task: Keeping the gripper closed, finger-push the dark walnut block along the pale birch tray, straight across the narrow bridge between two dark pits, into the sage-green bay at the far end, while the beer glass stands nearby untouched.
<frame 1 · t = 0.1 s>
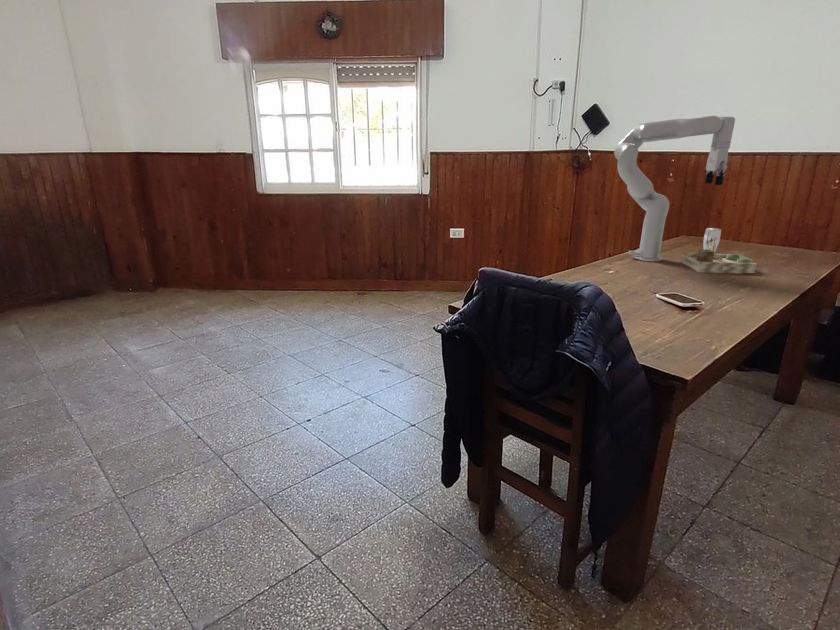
hand: (713, 184, 236), 37 cm above the table, tool pointing down, fingers open, 9 cm apart
walnut block: (704, 261, 233), point 3 cm above the table, touching tray
beer glass: (707, 259, 251), on the table
tray: (716, 267, 234), on the table
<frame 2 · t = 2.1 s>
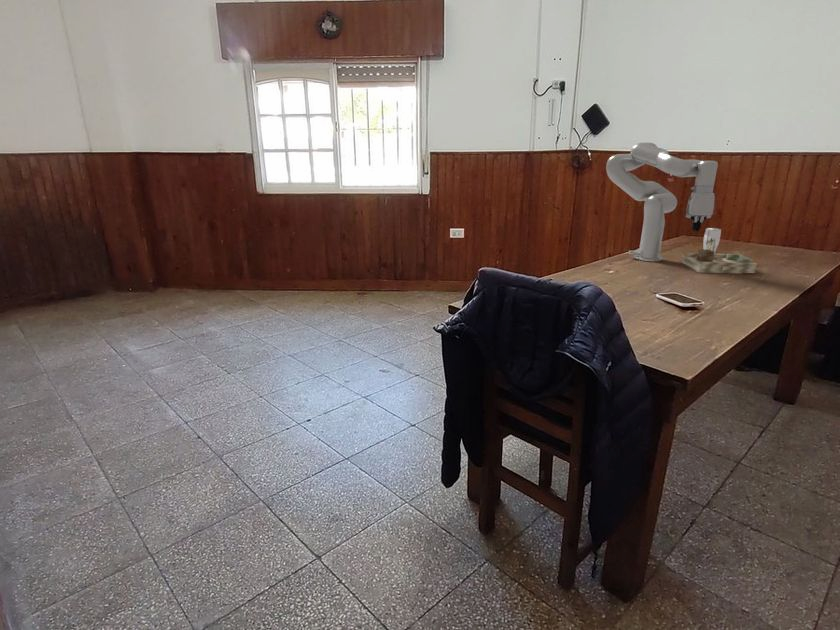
hand: (695, 230, 229), 17 cm above the table, tool pointing down, fingers closed
nothing on the table moved.
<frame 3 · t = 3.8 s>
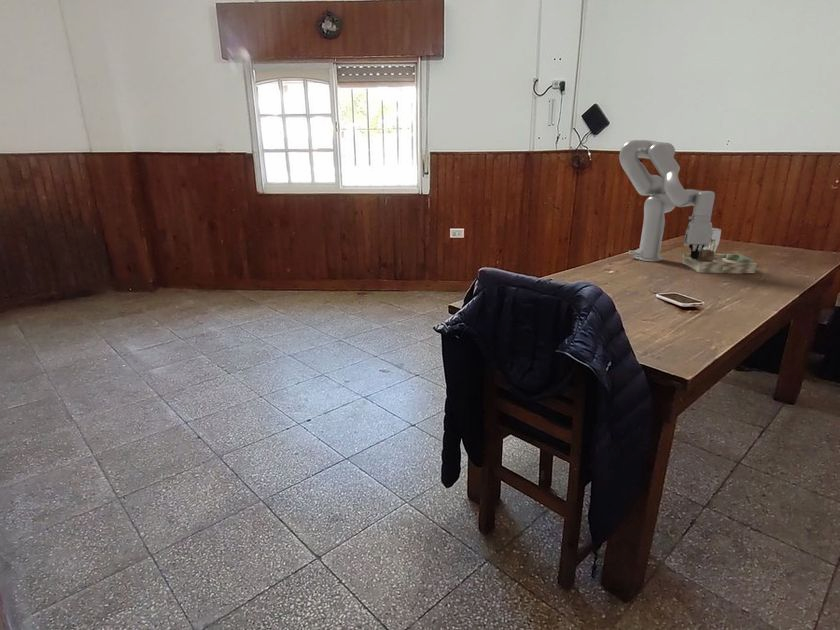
hand: (693, 258, 233), 4 cm above the table, tool pointing down, fingers closed
walnut block: (704, 261, 233), point 3 cm above the table, touching gripper, tray
everything else where it was.
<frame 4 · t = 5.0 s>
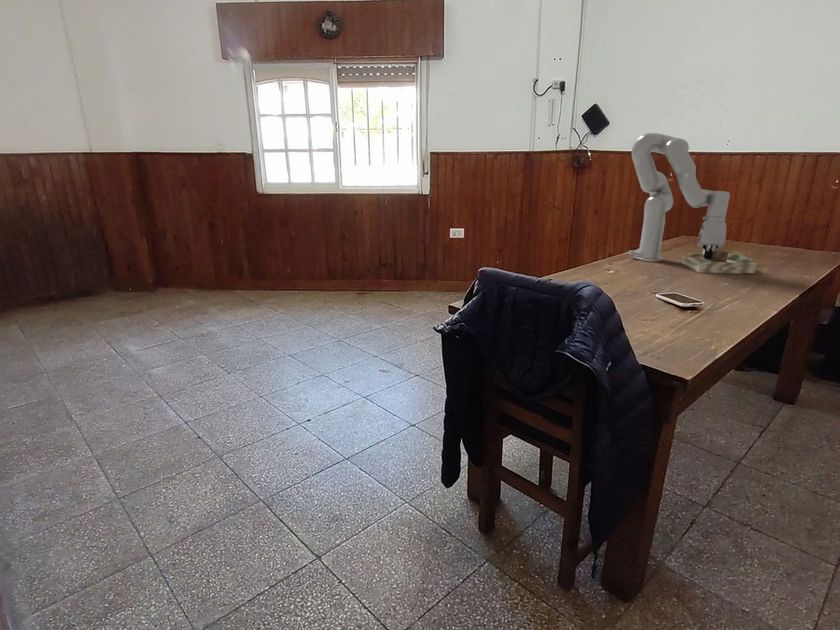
hand: (707, 259, 233), 4 cm above the table, tool pointing down, fingers closed
walnut block: (717, 261, 233), point 3 cm above the table, touching gripper, tray
everything else where it was.
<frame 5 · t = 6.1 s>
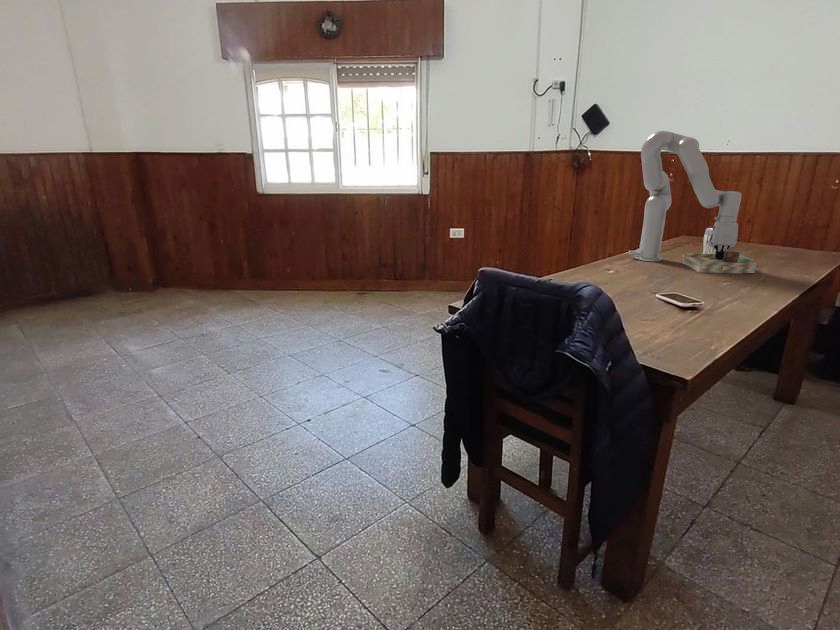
hand: (718, 259, 232), 4 cm above the table, tool pointing down, fingers closed
walnut block: (729, 261, 232), point 3 cm above the table, touching gripper, tray
everything else where it was.
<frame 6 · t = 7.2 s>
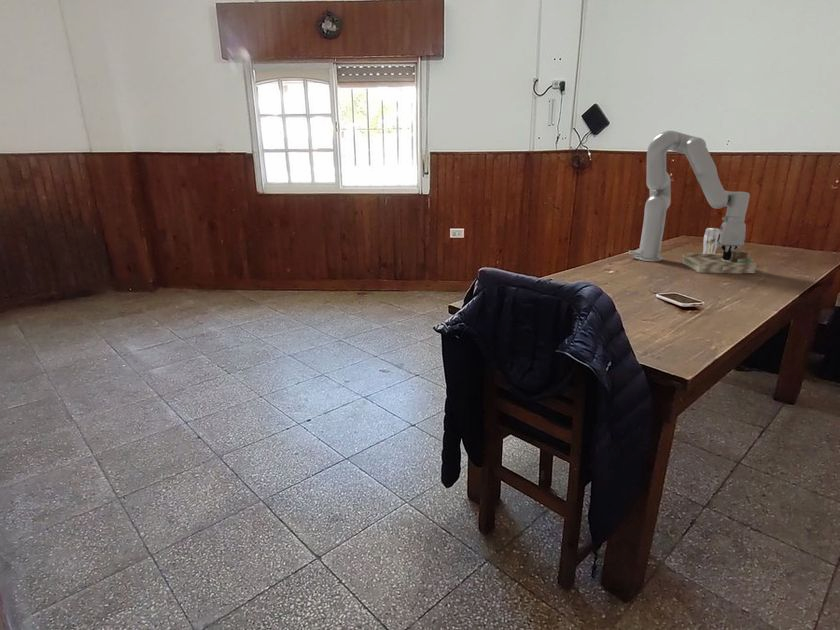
hand: (726, 259, 232), 4 cm above the table, tool pointing down, fingers closed
walnut block: (737, 262, 232), point 3 cm above the table, touching gripper, tray
everything else where it was.
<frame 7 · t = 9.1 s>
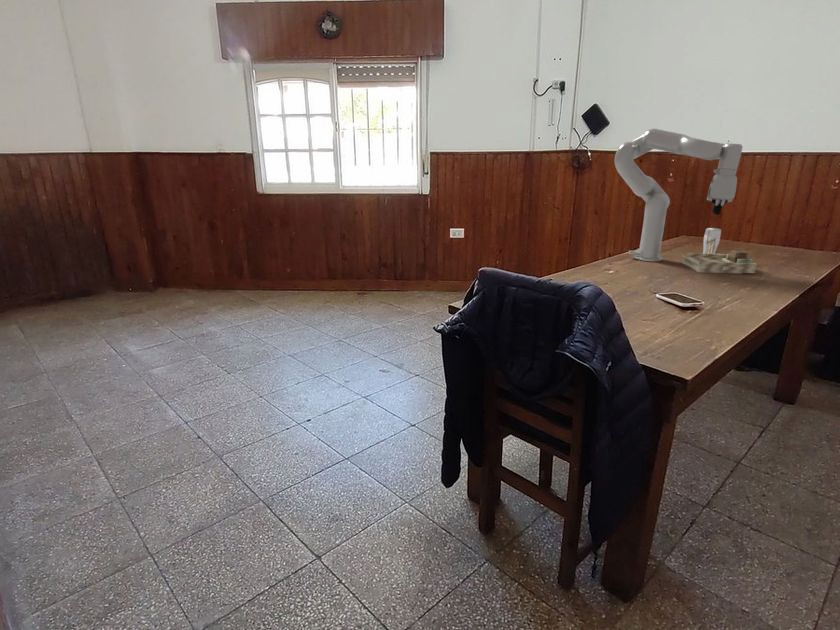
hand: (715, 214, 230), 24 cm above the table, tool pointing down, fingers closed
walnut block: (737, 262, 232), point 3 cm above the table, touching tray
everything else where it was.
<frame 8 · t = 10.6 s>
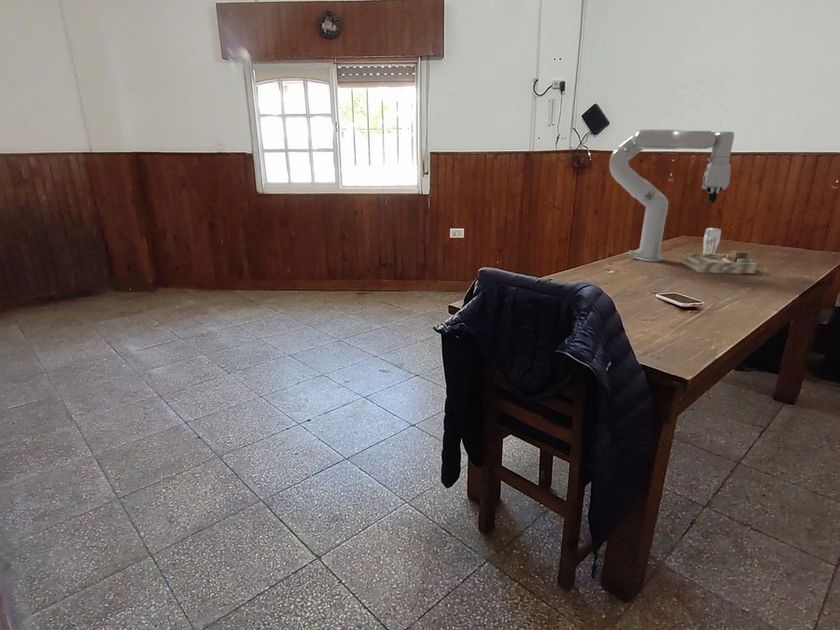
hand: (711, 201, 233), 29 cm above the table, tool pointing down, fingers closed
nothing on the table moved.
at the end: walnut block inside the target area on the tray (0.6 cm from its centre), point 3.0 cm above the tray's base; walnut block tilted 0° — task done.
